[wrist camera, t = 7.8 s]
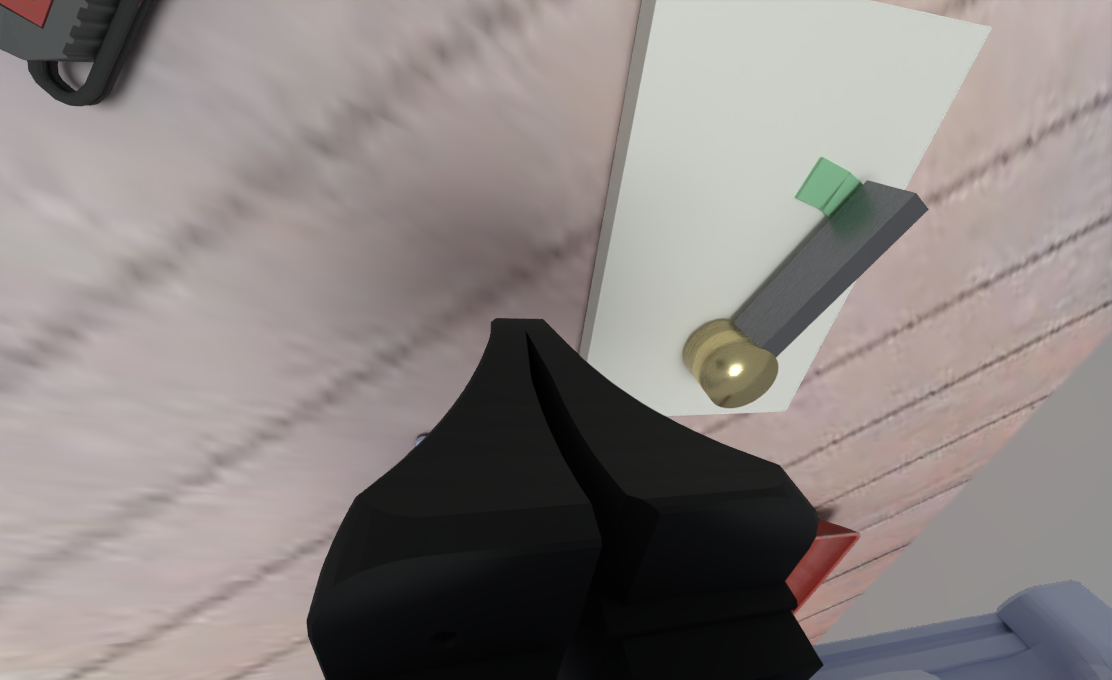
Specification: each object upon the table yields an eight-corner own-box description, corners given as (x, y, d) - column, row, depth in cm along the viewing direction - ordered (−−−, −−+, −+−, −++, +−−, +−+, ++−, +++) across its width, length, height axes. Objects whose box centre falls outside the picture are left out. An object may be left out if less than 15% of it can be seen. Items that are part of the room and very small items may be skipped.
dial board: (771, 396, 28) (787, 413, 27) (570, 402, 25) (576, 422, 24) (954, 30, 18) (997, 26, 16) (648, -36, 14) (667, -47, 13)
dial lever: (713, 384, 24) (739, 417, 22) (670, 361, 22) (693, 393, 20) (888, 207, 20) (942, 225, 17) (850, 163, 18) (904, 176, 16)
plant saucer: (612, 624, 43) (622, 661, 41) (654, 517, 34) (670, 555, 31) (761, 601, 47) (780, 633, 45) (836, 499, 38) (865, 532, 35)
